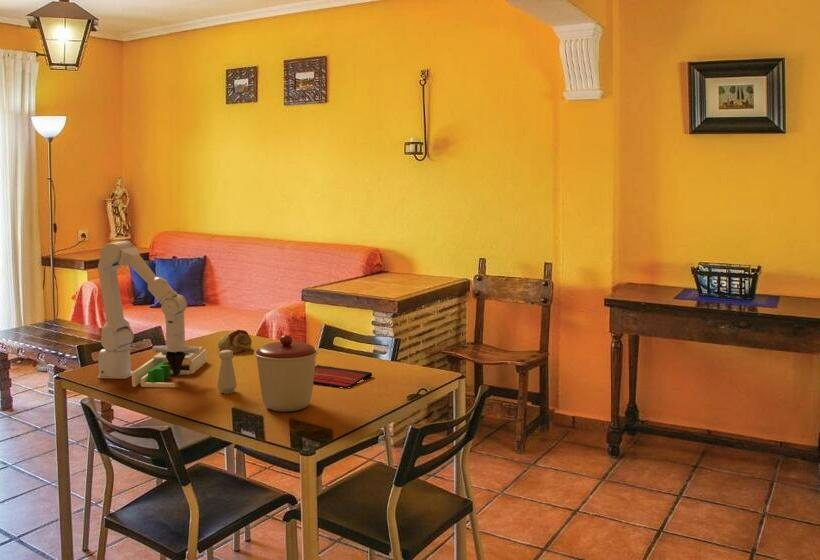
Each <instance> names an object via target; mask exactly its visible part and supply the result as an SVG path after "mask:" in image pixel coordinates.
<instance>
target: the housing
mask: <svg viewBox="0 0 820 560" xmlns="http://www.w3.org/2000/svg"><path fill="white" fill-rule="evenodd" d="M188 361H189V363H188V364H189V370H188V369H187V370H186V369H180V374H179V375H185V374H187V375H188V376H189V375H194V374H195V372H197V371H198V370H199V369H200V368H201V367H203V366H204V365H205V364H206V363H207V349H202V350H201V351H199V353H198V354H195V355H194V356H193V357H192V358H190V359H189V360H188ZM162 362H165V365H168V363H169V361H168V360H167V359H153V357H152V358H151V359H150V360H148V361H146V362H145V363H144V364H142V365H141V366H139V367H138V368H136V369H135V370H132V371H133V372H132V375H131V386H132V387H134V388H135V387H137V386H138V385H139V384H140V387H143V388H175V382H148V371H149V370H151V369H152V368H154V367H155V366H157V365H158V364H160V363H162ZM203 364H204V365H203ZM196 370H197V371H196ZM170 375H173V371H172V369H170Z"/></svg>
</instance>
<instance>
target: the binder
mask: <svg viewBox="0 0 820 560" xmlns="http://www.w3.org/2000/svg"><path fill="white" fill-rule="evenodd" d="M366 376H372V377H373V373H372V372H370V371H365V370H358V369H357V370H356V369H348V368H342V367H341V368H339V367H334V366H333V367H332V366H326V365H321V364H320V365H319V364H315V371H314V381H313V383H314V384H313V385H320V384H322V385H321V386H327V385H332V386H331V387H334V386H337V387H343V388H348V387H351V388H353V387H352V386H354V385H355V386H357V385H358V384H357V382H359V381H360V380H362V379H365V378H367V377H366ZM356 384H357V385H356ZM355 386H354V387H355ZM337 387H336V388H337ZM343 388H342V389H343ZM348 389H349V388H348Z"/></svg>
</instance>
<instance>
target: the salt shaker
mask: <svg viewBox="0 0 820 560" xmlns="http://www.w3.org/2000/svg"><path fill="white" fill-rule="evenodd" d="M218 358H219V359H220V365H219V369H218V370H219V371H218V376H217V377H218V378H217V389H218V391H219V392H220V394H222V393H224V394H223V395H230V394H229V393H231V394H233V393H234V392H235V390H236V388H237V379H236V374H235V370H234V364H233V359H234V354H233V351H231V350H223V351H221V350H220V351H219V354H218Z"/></svg>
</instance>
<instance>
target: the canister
mask: <svg viewBox="0 0 820 560" xmlns="http://www.w3.org/2000/svg"><path fill="white" fill-rule="evenodd" d="M318 354H319V348H317V347H315V346H314V345H312V344H310V343H307V342H303V341H295V340H293V337H292V335H289V334H283V335H281V336H280V338H279V341H275V342H269V343H266V344H262V345H261V346H260V347H258V348H256V349H255V350H254V352H253V355H254V356H255V357H256V361H257V364H256V365H257V370H258V371H257V372H258V376H259V377H258V379H259V385H260V391H261V398H262V402H263V404H264V406H265V407H266V408H267V409H269V410H271V411H274V412H282V413H284V412H285V413H289V412H295V411H299V410H303V409H305V408H307V407H308V406H309V404H310V402H311V400H312V396H313V395H312V394H313V390H314V384H313V381H314V371H315V366H316V361H317V360H316V358H317V355H318Z"/></svg>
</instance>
